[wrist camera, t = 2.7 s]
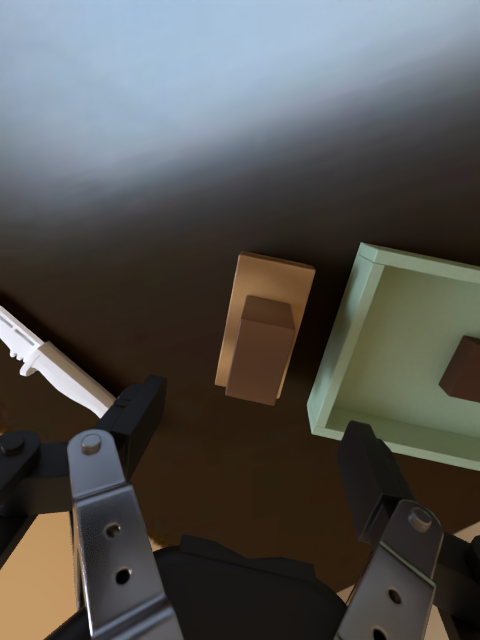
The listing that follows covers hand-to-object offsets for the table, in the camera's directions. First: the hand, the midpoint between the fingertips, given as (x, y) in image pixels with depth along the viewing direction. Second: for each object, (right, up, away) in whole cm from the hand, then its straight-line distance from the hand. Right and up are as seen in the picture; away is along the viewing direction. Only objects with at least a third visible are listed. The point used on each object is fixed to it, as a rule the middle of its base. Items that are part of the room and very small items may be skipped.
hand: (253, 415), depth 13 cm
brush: (+1, +4, +11) cm, 12 cm away
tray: (+16, +1, +11) cm, 19 cm away
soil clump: (+18, +1, +10) cm, 20 cm away
